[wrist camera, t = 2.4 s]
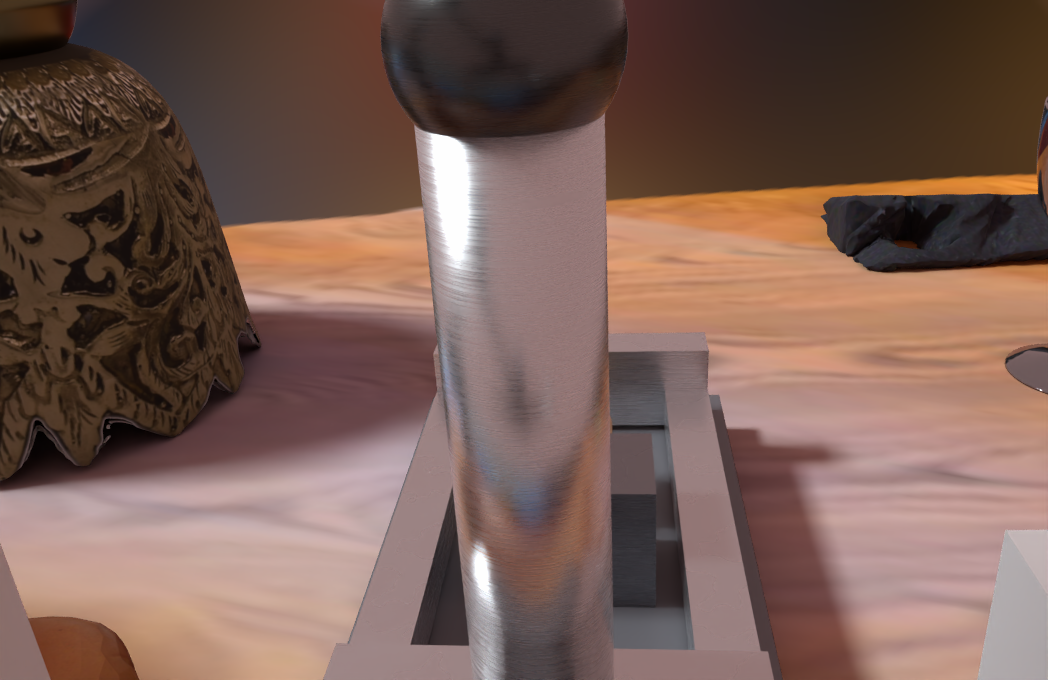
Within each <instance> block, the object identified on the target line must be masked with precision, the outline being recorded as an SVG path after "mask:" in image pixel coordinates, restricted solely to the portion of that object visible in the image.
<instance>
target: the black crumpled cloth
mask: <svg viewBox="0 0 1048 680" xmlns="http://www.w3.org/2000/svg"><path fill="white" fill-rule="evenodd" d="M823 206H824V210H825V211H826V213H827V214H825V215H822V216H821V217H822V218H823V219H824V220H825V222H826V224H827V234H828V236H829V238H830V240H831V241H832V242H833V243H834V245H835V246H836V247H837V249H838V250H839V251H840V252H842V253H846V255H847V256H852V257H853V260H854V261H855V262H857V263H862V264H863V266H864V267H866V268H868V269H870V270H873V271H895V269H896V268H898V269H900V268H952V267H956V266H968V267H969V266H973V265H981V266H984V265H987V264H991V263H994V262H1001V261H1026V260H1029V259H1035V260H1044V259H1046V258H1048V218H1047V216H1046V214H1045V212H1044V211H1043V209H1042V207H1041V203H1040V199H1039V194H1028V195H999V194H971V195H954V194H943V195H916V196H901V195H872V196H858V195H855V196H846V197H833V198H830V199H829V200H828V201H827V202H826V203H825V204H824V205H823ZM895 240H906V241H912V242H914V243H916V244H917V248H919V249H910V248H905V247H898V246H897V244H895V242H894V241H895Z"/></svg>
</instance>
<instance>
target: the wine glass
mask: <svg viewBox="0 0 1048 680" xmlns="http://www.w3.org/2000/svg"><path fill="white" fill-rule="evenodd" d="M1037 182H1038V194H1039V199H1040V203H1041V207H1042V209H1043V211H1044V212H1045V214H1046V216H1047V218H1048V97H1047V98H1046V102H1045V106H1044V111H1043V116H1042V121H1041V127H1040V135H1039V142H1038V150H1037ZM1005 366H1006V369H1007V370H1008V372H1009V373H1010V374H1011V375H1012V376H1013V377H1014V378H1016V379H1017V380H1019V381H1020V382H1022V383H1023V384H1025V385H1027V386H1029V387H1031V388H1033V389H1036V390H1038V391H1041V392H1044V393H1047V394H1048V344H1035V345H1028V346H1024V347H1020V348H1018V349H1016V350H1013V351H1012V352H1011V353H1009V354H1008V356H1007V357H1006V359H1005Z"/></svg>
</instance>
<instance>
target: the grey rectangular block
mask: <svg viewBox="0 0 1048 680" xmlns="http://www.w3.org/2000/svg"><path fill="white" fill-rule="evenodd" d="M610 463H611V521H612V580H613V607H639V608H655V603H656V483H655V471H654V459H653V446H652V434H651V433H615V434H610Z"/></svg>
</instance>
